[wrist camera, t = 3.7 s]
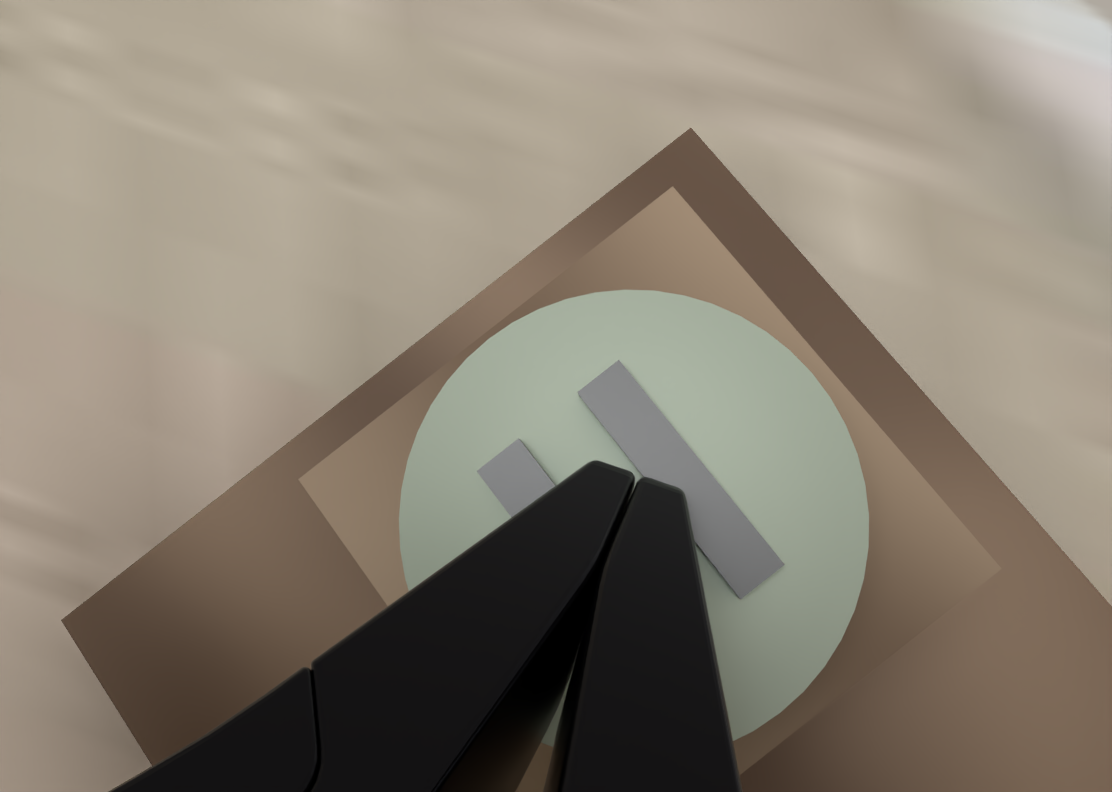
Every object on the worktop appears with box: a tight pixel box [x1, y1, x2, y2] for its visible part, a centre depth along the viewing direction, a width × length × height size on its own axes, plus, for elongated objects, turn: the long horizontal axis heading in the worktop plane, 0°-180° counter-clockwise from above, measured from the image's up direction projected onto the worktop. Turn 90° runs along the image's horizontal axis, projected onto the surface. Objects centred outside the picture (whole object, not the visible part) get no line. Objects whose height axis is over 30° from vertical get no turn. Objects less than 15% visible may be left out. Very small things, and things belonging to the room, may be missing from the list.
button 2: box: [399, 290, 869, 747], centre depth 10 cm, size 4×4×2 cm
